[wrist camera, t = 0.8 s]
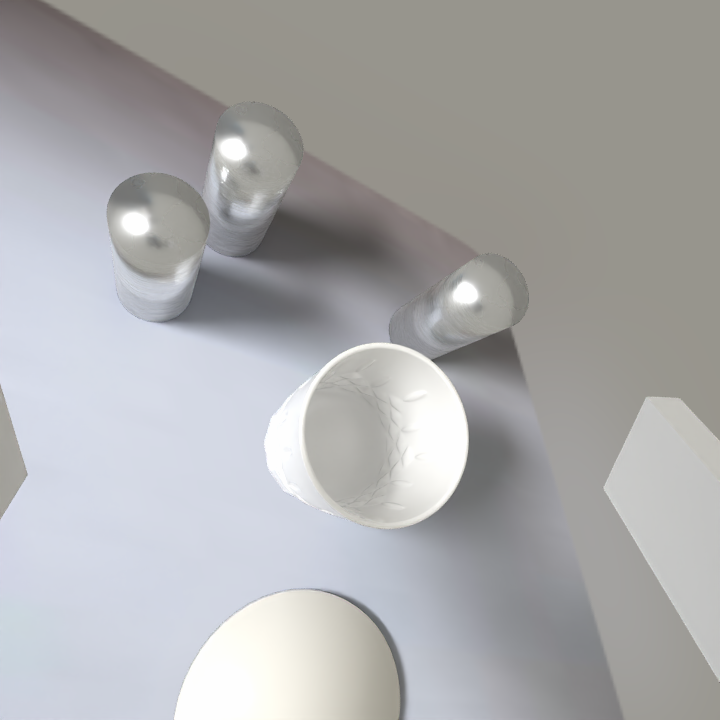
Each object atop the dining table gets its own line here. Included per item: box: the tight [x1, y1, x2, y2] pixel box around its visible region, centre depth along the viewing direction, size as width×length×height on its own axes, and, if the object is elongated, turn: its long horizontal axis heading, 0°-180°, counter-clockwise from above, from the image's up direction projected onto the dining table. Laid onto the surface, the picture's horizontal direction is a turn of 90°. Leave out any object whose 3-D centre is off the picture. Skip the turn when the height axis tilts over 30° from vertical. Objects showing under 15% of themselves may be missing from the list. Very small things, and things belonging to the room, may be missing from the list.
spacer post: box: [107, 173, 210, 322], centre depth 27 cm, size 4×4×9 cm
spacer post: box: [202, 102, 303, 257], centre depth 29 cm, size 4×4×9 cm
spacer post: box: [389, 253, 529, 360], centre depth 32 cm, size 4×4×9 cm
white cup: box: [264, 343, 469, 529], centre depth 28 cm, size 8×8×10 cm
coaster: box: [174, 589, 400, 720], centre depth 29 cm, size 12×12×1 cm
